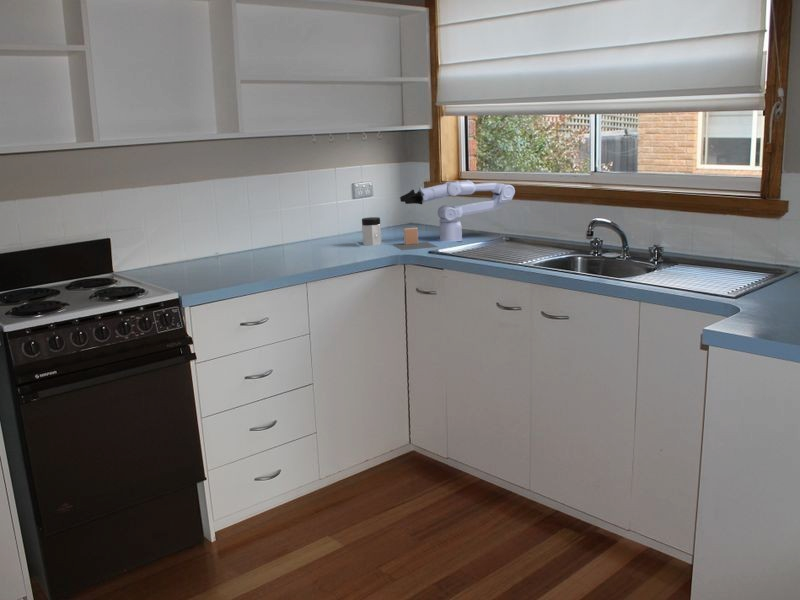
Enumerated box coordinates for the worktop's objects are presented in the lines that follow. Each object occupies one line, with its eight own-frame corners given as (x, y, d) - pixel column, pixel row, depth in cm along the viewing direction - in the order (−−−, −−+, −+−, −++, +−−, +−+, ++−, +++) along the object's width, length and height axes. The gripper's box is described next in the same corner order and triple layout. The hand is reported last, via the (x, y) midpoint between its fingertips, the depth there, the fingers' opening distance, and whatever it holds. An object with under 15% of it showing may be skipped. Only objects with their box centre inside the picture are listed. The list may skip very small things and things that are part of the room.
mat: (426, 243, 357) (426, 241, 357) (438, 248, 342) (438, 246, 342) (392, 246, 353) (392, 244, 353) (402, 251, 338) (402, 250, 338)
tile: (417, 243, 354) (416, 227, 352) (418, 243, 352) (417, 227, 351) (404, 244, 352) (403, 228, 351) (405, 245, 351) (404, 229, 349)
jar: (369, 247, 353) (367, 220, 350) (358, 245, 359) (357, 218, 357) (385, 244, 358) (384, 217, 355) (375, 243, 364) (374, 216, 362)
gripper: (425, 182, 359) (396, 189, 356) (435, 185, 345) (405, 193, 342) (428, 198, 361) (399, 205, 358) (438, 201, 347) (408, 209, 344)
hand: (402, 200), depth 350 cm, fingers open, 7 cm apart
